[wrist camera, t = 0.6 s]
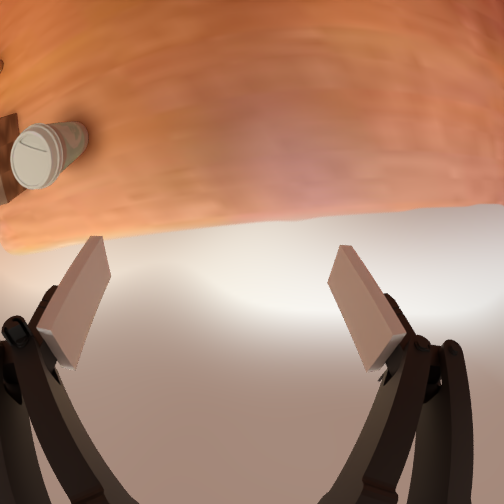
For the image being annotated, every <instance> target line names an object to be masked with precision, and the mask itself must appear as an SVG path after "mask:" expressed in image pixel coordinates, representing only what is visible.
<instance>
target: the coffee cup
mask: <svg viewBox="0 0 504 504" xmlns="http://www.w3.org/2000/svg"><path fill="white" fill-rule="evenodd" d="M87 145H88V132H87V129H86V128H85V126H84V125H83V124H81V123H80V122H76V121H73V122H62V123H53V124H42V123H36V124H33V125H31V126H29V127H28V128H26V129H25V130H24V131H23V132H22V133H21V134H20V135H19V136H18V137H17V139H16V140H15V142H14V144H13V146H12V150H11V157H10V161H11V168H12V172H13V174H14V176H15V178H16V180H17V181H18V182H19V183H20V184H21V185H22V186H23V187H25V188H27V189H42V188H45V187H48V186H50V185H51V184H52V183H53V182H54V181H55V180H56V179H57V177H58V176H59V174H60V173H61V172H62V171H63V170H64V169H65V168H66V167H68V166H69V165H70V164H71V163H72V162H73V161H74V160H75V159H76V158H77V157H79V156H80V155H81V154H82V153H83V152H84V151H85V149H86V147H87Z"/></svg>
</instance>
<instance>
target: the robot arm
mask: <svg viewBox="0 0 504 504" xmlns="http://www.w3.org/2000/svg"><path fill="white" fill-rule="evenodd" d="M110 278H111V273H110V269H109V265H108V261H107V256H106V252H105V247H104V242H103V237H102V236H90V238H89V239H88V240H87V242H86V243H85V245H84V247H83V248H82V249H81V251H80V252H79V254H78V255H77V257H76V258H75V260H74V261H73V263H72V265H71V266H70V268H69V269H68V271H67V272H66V274H65V276H64V277H63V279H62V281H61V282H60V284H59V286H56V285H53V286H52V287H51V288H50V289H49V290H48V291H47V292H46V293H45V295H44V297H43V299H42V301H41V302H40V304H39V305H38V307H37V309H36V311H35V313H34V315H33V316H32V318H31V320H30V322H29V324H28V325H27V323H26V322H25V320H24V318H23V317H21V316H13V317H10V318H9V319H8V320H7V321H6V322H5V323H4V325H3V327H2V334H3V336H4V338H5V339H6V340H5V341H0V504H51V501H50V499H49V496H48V493H47V490H46V487H45V484H44V481H43V478H42V474H41V471H40V467H39V464H38V460H37V456H36V451H35V447H34V442H33V437H32V432H31V426H30V420H31V422H32V425H33V428H34V430H35V432H36V435H37V438H38V440H39V442H40V444H41V447H42V449H43V451H44V453H45V455H46V458H47V460H48V461H49V464H50V466H51V468H52V469H53V471H54V473H55V475H56V477H57V479H58V481H59V482H60V484H61V486H62V487H63V489H64V491H65V492H66V494H67V496H68V497H69V499H70V501H71V504H139V503H138V502H137V501H136V500H134V499H133V498H132V497H131V496H130V495H129V494H128V493H127V492H126V490H125V489H124V488H123V486H122V485H121V484H120V483H119V481H118V480H117V478H116V477H115V476H114V474H113V473H112V472H111V470H110V469H109V467H108V466H107V464H106V463H105V462H104V460H103V458H102V457H101V455H100V454H99V452H98V451H97V449H96V447H95V446H94V444H93V442H92V441H91V439H90V437H89V435H88V434H87V432H86V430H85V428H84V427H83V425H82V423H81V421H80V419H79V417H78V415H77V413H76V411H75V410H74V407H73V405H72V403H71V401H70V399H69V397H68V395H67V393H66V390H65V388H64V386H63V383H62V381H61V378H60V376H59V373H58V371H57V369H56V368H55V364H56V361H58V362H59V364H60V365H61V367H63V368H67V369H71V370H76V367H77V364H78V361H79V358H80V355H81V352H82V349H83V346H84V343H85V340H86V337H87V335H88V332H89V329H90V327H91V324H92V321H93V319H94V316H95V313H96V311H97V309H98V306H99V303H100V301H101V299H102V296H103V294H104V291H105V289H106V287H107V285H108V283H109V280H110ZM327 283H328V285H329V287H330V289H331V292H332V294H333V296H334V298H335V300H336V302H337V304H338V307H339V309H340V311H341V313H342V316H343V318H344V320H345V322H346V325H347V327H348V329H349V332H350V334H351V336H352V338H353V341H354V343H355V345H356V348H357V350H358V353H359V355H360V357H361V360H362V362H363V365H364V367H365V370H366V372H372V371H377V370H380V369H381V367H382V366H383V365H384V364H385V363H386V365H387V370H386V371H385V372H384V373H383V374H382V376H381V377H380V378H379V380H378V381H381V379H382V378H383V379H382V382H381V385H380V387H379V390H378V393H377V395H376V398H375V401H374V403H373V406H372V408H371V411H370V413H369V416H368V418H367V420H366V422H365V425H364V427H363V429H362V431H361V434H360V436H359V438H358V440H357V442H356V444H355V446H354V448H353V451H352V452H351V454H350V456H349V458H348V460H347V462H346V464H345V466H344V467H343V469H342V471H341V473H340V475H339V476H338V478H337V480H336V481H335V483H334V485H333V486H332V488H331V490H330V491H329V492H328V493H327V494H325V495H324V496H323V498H321V500H320V501H319V502H318V504H397V502H398V494H397V493H396V492H395V489H396V486H397V483H398V481H399V479H400V476H401V473H402V471H403V468H404V466H405V463H406V460H407V457H408V455H409V451H410V449H411V445H412V442H413V439H414V436H415V432H416V441H415V453H414V462H413V470H412V477H411V483H410V489H409V494H408V500H407V504H471V489H472V478H473V423H472V409H471V399H470V391H469V384H468V377H467V372H466V366H465V360H464V355H463V351H462V348H461V347H460V345H459V344H458V343H457V342H455V341H453V340H446V341H445V342H444V343H443V345H442V346H436V345H431V344H430V342H429V341H428V340H427V339H426V338H425V337H423V336H421V335H416V334H415V332H414V331H413V329H412V327H411V325H410V324H409V322H408V320H407V319H406V317H405V316H404V315H403V312H402V311H401V309H399V306H398V304H397V303H396V301H395V300H394V299H393V298H392V297H391V296H390V295H389V294H388V293H385V294H383V293H382V291H381V289H380V288H379V286H378V285H377V283H376V282H375V280H374V278H373V277H372V275H371V274H370V272H369V271H368V269H367V268H366V266H365V265H364V263H363V262H362V260H361V259H360V257H359V256H358V255H357V253H356V252H355V250H354V249H353V247H352V246H347V245H340V246H339V250H338V253H337V256H336V259H335V262H334V265H333V268H332V271H331V274H330V277H329V279H328V282H327ZM441 379H442V385H441V382H440V380H441ZM29 417H30V420H29Z"/></svg>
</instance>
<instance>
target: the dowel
mask: <svg viewBox="0 0 504 504" xmlns="http://www.w3.org/2000/svg"><path fill="white" fill-rule="evenodd" d="M2 69H3V61H2V60H0V73H1V71H2Z"/></svg>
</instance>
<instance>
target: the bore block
mask: <svg viewBox="0 0 504 504" xmlns="http://www.w3.org/2000/svg"><path fill="white" fill-rule="evenodd" d="M18 136H19V128H18V119H17V113H15V114H12V115H8V116H5V117H2V118H0V205H3V204H7V203H9V202H10V201H11V200H12V199H14V198H15V197H16V196H18V195H19V194H20V193H22V192H23V191H24V190H26V189H27V188H25V187H23V186H22V185H21V184H20V183H19V182H18V181H17V180H16V178H15V176H14V174H13V172H12V168H11V161H10V157H11V150H12V146H13V144H14V142H15V140H16V139H17V137H18Z"/></svg>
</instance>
